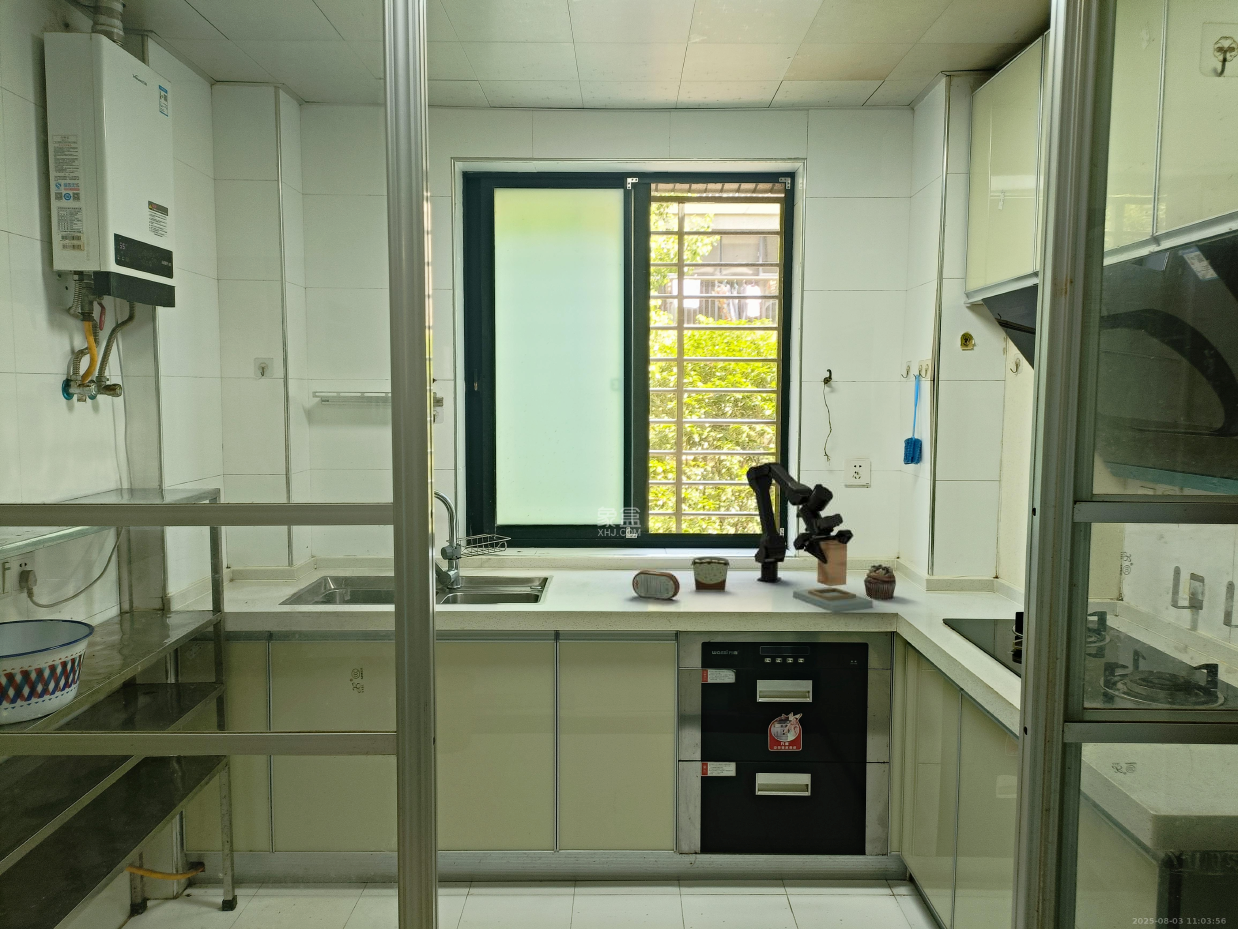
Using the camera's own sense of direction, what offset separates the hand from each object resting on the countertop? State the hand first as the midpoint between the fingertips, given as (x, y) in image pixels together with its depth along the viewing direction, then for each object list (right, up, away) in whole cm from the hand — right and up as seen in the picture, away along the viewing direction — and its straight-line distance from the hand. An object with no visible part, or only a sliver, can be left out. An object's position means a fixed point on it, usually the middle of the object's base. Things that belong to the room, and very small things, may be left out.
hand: (834, 562), depth 248 cm
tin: (-53, -12, +7) cm, 55 cm away
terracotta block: (-1, -6, +2) cm, 7 cm away
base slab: (0, -12, +2) cm, 12 cm away
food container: (-35, -11, +21) cm, 42 cm away
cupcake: (+16, -12, +9) cm, 22 cm away
